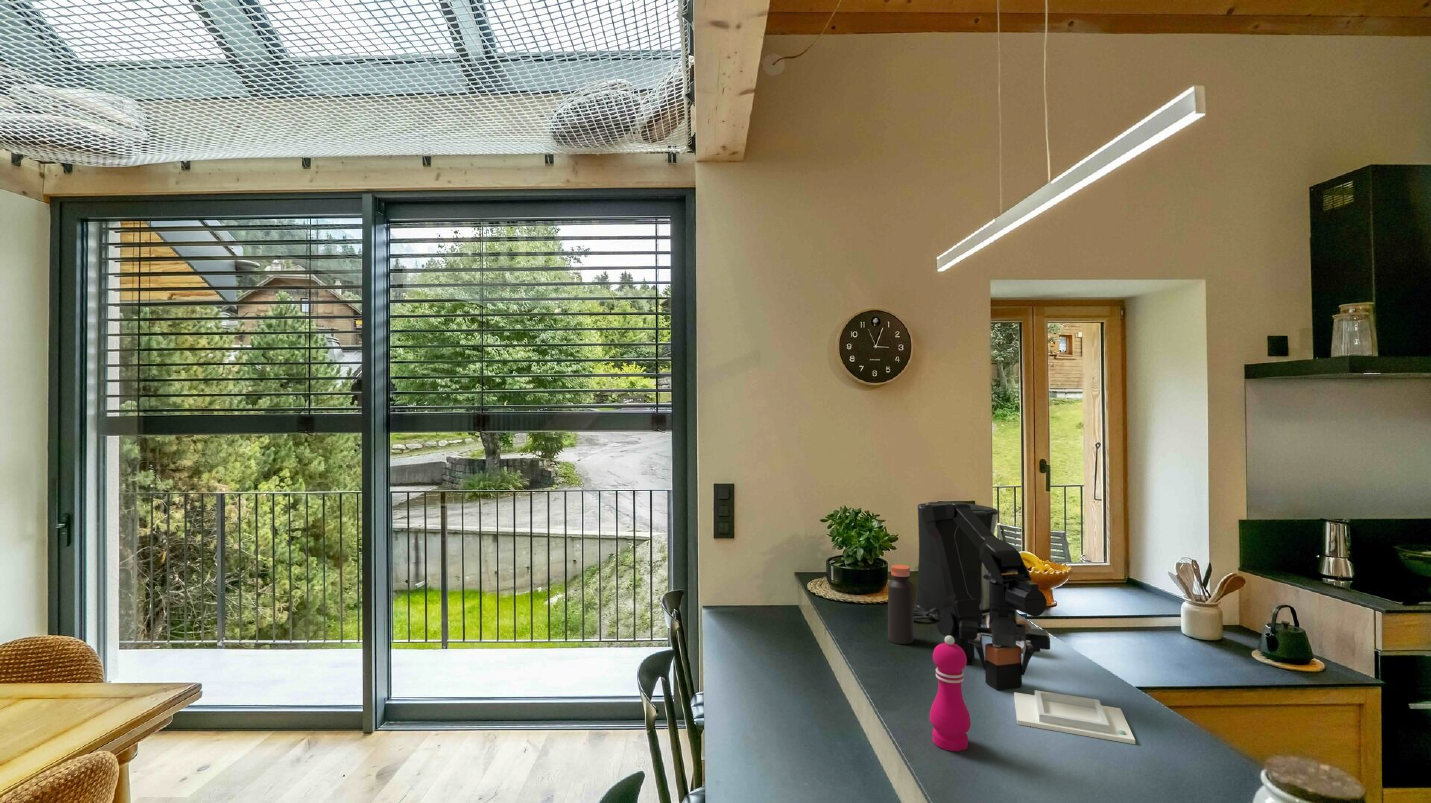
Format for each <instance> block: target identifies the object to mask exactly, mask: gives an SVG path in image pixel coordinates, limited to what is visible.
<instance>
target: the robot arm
mask: <svg viewBox="0 0 1431 803" xmlns="http://www.w3.org/2000/svg"><path fill="white" fill-rule="evenodd" d="M966 503H967V502H958V503H950V504H929V505H926V506H925V508H924V510H923V511H922V518H923V521H924V524H925V527H926V530H927V531H928V532H929V533H930V534H931V535H932V537H933V538H934V539H935V542H936V547H937V551H938V556H939V560H940V564H941V569H942V573H943V578H944V582H945V587H946V591H947V599H946V602H945V605H944V615H945V616H944V617H943V618H942V619H941V620H940V621H939V620H938V622H937V624H936V625H937V630H938V631H937V632H938V633H939V634H941V635H942V636H944V638H945V637H946V636H952V637H953V638H954V641H955V642H954V644H956V645H958V646H959V647H961V648H962V649H963V651H964V652H965V654H966V658H967V664H966V665H973V661H974V660H975V653H976V652H977V654H978V657H979V661H980V663H981V665H982V670H984V671H985V647H984V641H983V637H990V638H991V637H992V638H991V643H993V644H994V645H997V646H999V645H1003V646H1009V647H1015V646H1016V641H1019V642H1021V641H1024V648H1023V652H1022V677H1023V676H1025V674H1026V671H1027V668H1028V665H1029V662H1030V660H1031V658H1032V656H1033V655H1034V654H1035V653H1039V652H1041V650H1048V651H1049V650H1051V638H1050V634H1049V632H1048V630H1046V629H1043V628H1034V627H1033V628H1032V627H1031V628H1029V633H1028V632H1026V628H1025V624H1017V617H1018V616H1017V615H1018V611H1019V612H1021V613H1024V614H1026V615H1029V616H1030V617H1033V618H1034V617H1035V618H1036V617H1039V616H1041V615H1043V613H1045V610H1046V609H1047V605H1048V602H1047V601H1048V600H1047V599H1046V595H1045V594H1044V593H1043V591H1042V590H1040V589H1039V584H1038V583H1036V582H1031V581H1032V577H1031V575H1030V572H1029V570H1028V568H1027V566H1026V564H1025V563H1024V560H1023V558H1022V555H1021V552H1019V550H1018V549H1016V547H1014V546H1013V545H1012V544H1010V543H1009V542H1007V541H1004V540H1002V539H1001V538H998V537H997V536H996V535H995V534H994V535H993V533H992V532H991V531H990V530H989V529H988V528H987V527H986V526H985V525H984V524H983V522H982V521H981V520H980V519H979V518H978V517H977V516H976V515H975V514H974V513H973V512H972V510H971V508H970V506H969V505H968V504H969V503H968V504H966ZM958 526H959V527H960V528H961V529H962V531H963V532H964V533H965V534H966V535H967V536H968V538H969V539H970V540H971V541H972V542H973V543H974V545H975V546H976V547H977V548H978V550H979V551H980V560H981V561H982V563H983V564H984V566H985V568H986V569H987V570H988V573H987V574H985V575H984V576H983V578H984V579H986V580H989V628H986V626H982V625H983V618H982V616H983V615H982V613H981V610H980V606H979V601H978V600H977V599H973V598H972V597H971V596H970V595H969V594H968V592H967V587H966V583H965V579H964V575H963V571H962V566H961V562H960V558H959V554H958V549H957V545H956V541H955V533H956V530H957V527H958ZM975 650H976V652H975Z"/></svg>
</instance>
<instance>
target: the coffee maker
mask: <svg viewBox="0 0 1431 803" xmlns="http://www.w3.org/2000/svg"><path fill="white" fill-rule="evenodd" d="M950 503H959V502H955V501H930V502H926V503H919V504H918V505H917V522H918V523H917V525H918V564H917V565H918V568H917V579H916V593H915V606H914V621H915V620H917V621H918V620H919V621H920V620H930V619H933V620H937V621H938V622H939V621H940V620H941V619H942V618H943V617H944V616H945V615H944V605H945V602H946V599H947V591H946V587H945V582H944V578H943V573H942V569H941V564H940V560H939V556H938V551H937V547H936V542H935V539H934V538H933V537H932V535H931V534H930V533H929V532H928V531H927V530H926V527H925V524H924V521H923V518H922V511H923V510H924V508H925V506H926V505H929V504H950ZM965 503H966V504H968V505H969V506H970V508H971V510H972V512H973V513H974V514H975V515H976V516H977V517H978V518H979V519H980V520H981V521H982V522H983V524H984V525H985V526H986V527H987V528H988V529H989V530H990V531H991V532H992V533H993V535H994V536H995V531H996V526H997V521H998V513H999V510H998V509H997V508H994V507H990V506H987V505H986V506H985V505H980V504H974V503H967V502H965ZM955 541H956V545H957V549H958V554H959V558H960V562H961V566H962V571H963V575H964V579H965V583H966V587H967V592H968V594H969V595H970V596H971V597H972V598H973V599H977V600H978V601H979V606H980V610H981V613H982V615H983V616H982V619H983V618H986V615H987V614H988V613H989V580H986V579H984V578H983V576H984V575H985V574H987V573H988V570H987V569H986V568H985V566H984V564H983V563H982V561H981V560H980V551H979V550H978V548H977V547H976V546H975V545H974V543H973V542H972V541H971V540H970V539H969V538H968V536H967V535H966V534H965V533H964V532H963V531H962V529H961V528H960V527H959V526H958V527H957V530H956V533H955Z"/></svg>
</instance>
